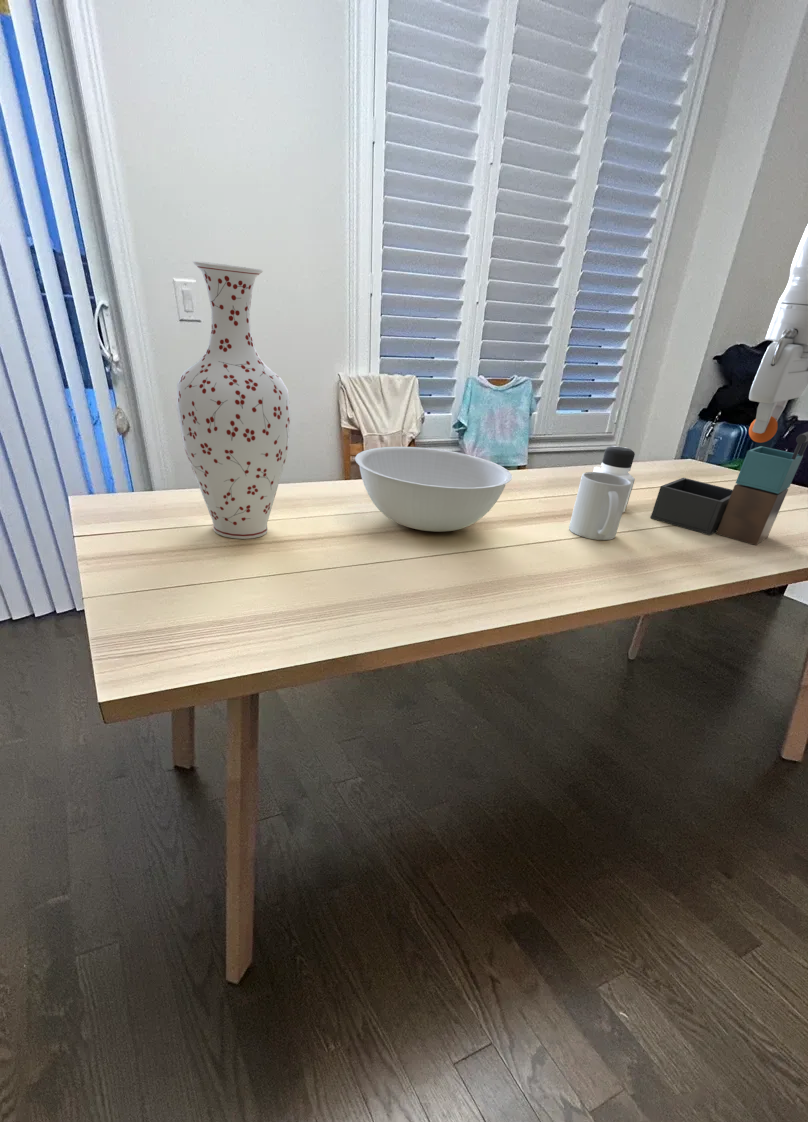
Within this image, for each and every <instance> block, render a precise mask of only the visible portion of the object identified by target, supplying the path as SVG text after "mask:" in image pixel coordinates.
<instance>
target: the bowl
mask: <svg viewBox="0 0 808 1122" xmlns="http://www.w3.org/2000/svg"><path fill="white" fill-rule="evenodd" d="M354 460H355V463H356V464H357V465H358V466H359V472H360V476H361V480H362V483H363V486H364V488H365V491H366V493H367V495H368V496H369V498H370V500H371V502H372V503H373V504H374V505H375V507H376V508H377V509H378V511H380V512H381V514H383V515H384V516H385V517H386V518H388V519H389V520H391V521H392V522H394V523H397V524H398V525H401V526H404V527H407V528H410V529H413V530H414V529H415V530H418V531H425V532H434V533H435V532H452V531H458V530H461V529H465V528H468V527H469V526H471V525H473V524H475V523H476V522H479V520H481V519H482V518H483V517H485V516H486V515H487V514H488V513H489V512H490V511H491V509H492V508H493V507H494V506H495V504H496V503H497V502H498V500H499V499H500V497H501V496H502V493H503V492H504V490H505V487H506V485H507V484H508V483H510V482H511V481H512V478H513V474H512V473H511V472H510V471H509V470H508V469H507V468H505V467H504V466H503V465H500V464H498V463H496V462H494V461H491V460H488V459H486V458H482V457H478V456H475V455H471V454H466V453H461V452H458V451H451V450H445V449H440V448H439V449H438V448H429V447H421V446H420V447H419V446H418V447H417V446H383V447H375V448H370V449H369V448H368V449H366V450H362V451H360V452H358V453H357V454H356V455H355V456H354Z"/></svg>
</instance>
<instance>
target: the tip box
mask: <svg viewBox="0 0 808 1122" xmlns="http://www.w3.org/2000/svg"><path fill="white" fill-rule="evenodd" d="M795 442H796V443H797V444H796V447H795V449H794V450H793V452H789V451H785V450H780V449H776V448H771V447H766V446H762V445H760V446H758V447H757V446H756V447H754V448H752V449H749V450H747V451H746V454H745V457H744V460H743V462H742V465H741V468H740V471H739V473H738V475H737V478H736V481H735V485H736V484H740V485H745V486H749V487H753V488H757V489H761V490H765V491H769V492H773V493H777V494H779V493H780V492H782V491H784V490H785V489H789V488H790V487H791V486H792V485H791V484H792V482H793V480H794V478H795V475H796V473H797V471H798V469H799V466H800V465H801V462H802V459H803V457H804V453H805V451H806V448H807V447H808V431H806V432H803V433H801V434H799V435H798V436H797V437H796V440H795Z"/></svg>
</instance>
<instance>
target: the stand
mask: <svg viewBox="0 0 808 1122" xmlns="http://www.w3.org/2000/svg"><path fill="white" fill-rule="evenodd" d="M732 490H733V491H732V494H731V496H730V499H729V501H728V504H727V506H726V509H725V512H724V514H723V517H722V519H721V522H720V525H719V527H718V530H717V531H716V532H715V535H718V536H722V537H726V538H729V539H733V540H736V541H740V542H742V543H747V544H749V545H754V546H758V544H761V542H763V541H764V540H765V539H767V538H768V537H769V535H770V533H771V531H772V528H773V526H774V524H775V522H776V520H777V517H778V514H779V512H780V510H781V509H782V505H783V503H784V500H785V499H786V496H787V495H788V491H789V488H787V489H785V490H784V491H782V492H780V493H779V494H777V493H773V492H769V491H765V490H761V489H757V488H753V487H749V486H745V485H740V484H736V483H735V484H734V486H733V488H732Z"/></svg>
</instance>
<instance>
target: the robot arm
mask: <svg viewBox="0 0 808 1122" xmlns="http://www.w3.org/2000/svg"><path fill="white" fill-rule="evenodd" d="M791 262H792V263H791V265H790V268H789V275H788V276H789V277H788V281H787V284H786V287H785V289H784V291H783V293H782V294H781V295H780V297H779V299H778V301H777V304H776V306H775V309H774V312H773V315H772V318H771V321H770V323H769V327H768V329H767V332H766V335H765V337H764V338H765V340H766V341H771V343H770V344H769V345H768V346H767V348H766V351H765V352H764V354H763V356H762V359H761V362H760V364H759V366H758V369H757V371H756V374H755V376H754V379H753V381H752V384H751V386H750V390H749V394H748V399H749V401H751V402H757V403H758V406H757V408H756V416H755V419H756V421H755V423H754V426H753V429H752V430H753V432H755V433H760V434H761V433H764V432H766V430H767V428H768V425H769V423H770V421H769V420H770V418H771V416H772V417H774V418H775V419H776V421H777V422H778V420H779V419H780V417H781V415H782V413H783V411H784V410H785V408H786V405H787V403H788V401H789V400H793V399H794V400H795V399H798V398H800V397H801V396H802V394H803V393H804V391H805V390H806V388H807V386H808V223H807V225H806V227H805V228H804V231H803V234H802V237H801V238H800V241H799V243H798V246H797V248H796V251H795V254H794V257H793V259H792V261H791Z"/></svg>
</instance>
